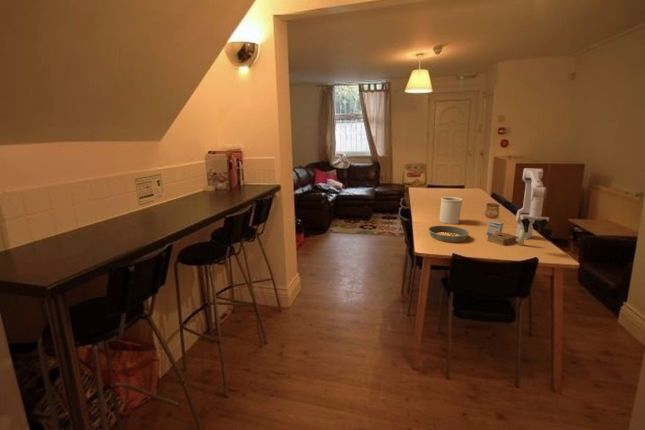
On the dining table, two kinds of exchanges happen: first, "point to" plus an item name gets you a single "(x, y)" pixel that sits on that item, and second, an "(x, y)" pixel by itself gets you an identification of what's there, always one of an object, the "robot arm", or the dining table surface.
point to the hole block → (502, 238)
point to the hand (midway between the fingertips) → (532, 232)
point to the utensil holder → (450, 210)
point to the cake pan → (449, 229)
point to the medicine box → (494, 227)
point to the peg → (521, 238)
